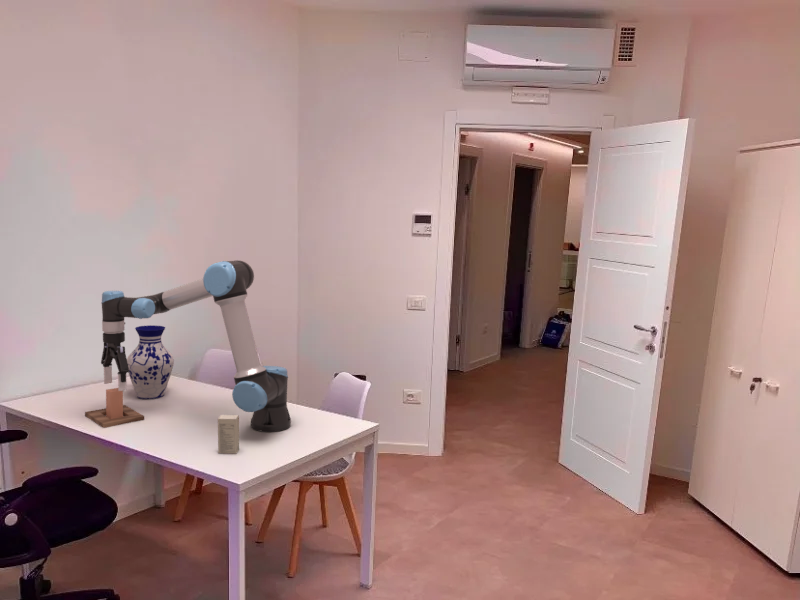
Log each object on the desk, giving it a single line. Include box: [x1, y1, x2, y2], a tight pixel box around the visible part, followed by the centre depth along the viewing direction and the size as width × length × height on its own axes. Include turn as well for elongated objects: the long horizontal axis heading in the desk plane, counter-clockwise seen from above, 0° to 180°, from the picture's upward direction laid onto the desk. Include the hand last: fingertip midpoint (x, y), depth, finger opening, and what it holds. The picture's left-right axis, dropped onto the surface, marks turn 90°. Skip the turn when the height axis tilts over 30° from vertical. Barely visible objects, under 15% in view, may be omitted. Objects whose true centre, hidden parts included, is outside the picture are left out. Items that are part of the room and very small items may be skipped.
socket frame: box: [84, 404, 145, 429], centre depth 231 cm, size 18×15×2 cm
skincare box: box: [217, 414, 240, 455], centre depth 203 cm, size 6×4×12 cm
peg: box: [105, 387, 124, 419], centre depth 230 cm, size 4×4×11 cm
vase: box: [126, 325, 175, 400], centre depth 260 cm, size 19×19×30 cm
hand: (115, 386), depth 230 cm, fingers open, 13 cm apart
